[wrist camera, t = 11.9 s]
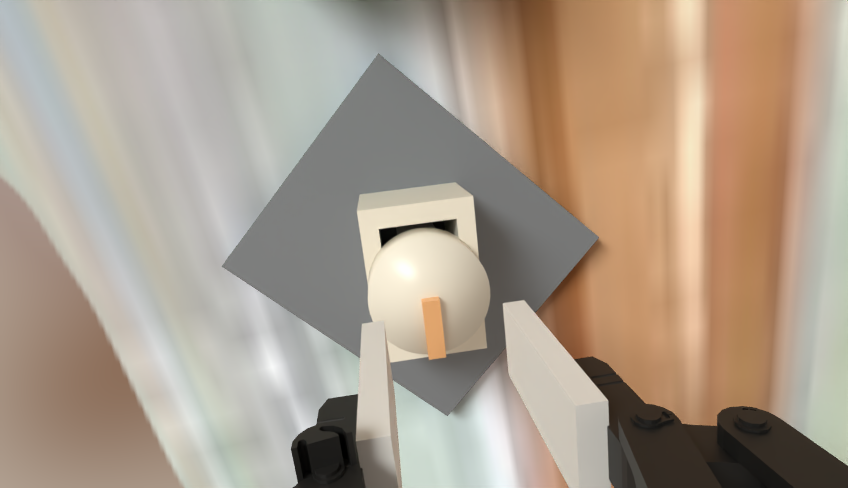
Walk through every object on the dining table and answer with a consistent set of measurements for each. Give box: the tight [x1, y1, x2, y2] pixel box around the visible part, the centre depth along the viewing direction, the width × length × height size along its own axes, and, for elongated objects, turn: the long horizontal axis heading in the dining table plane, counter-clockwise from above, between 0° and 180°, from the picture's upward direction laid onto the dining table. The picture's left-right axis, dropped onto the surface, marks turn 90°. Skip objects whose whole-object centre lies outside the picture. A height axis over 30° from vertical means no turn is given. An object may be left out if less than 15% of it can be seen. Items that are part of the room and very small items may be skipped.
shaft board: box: [222, 54, 599, 416], centre depth 29 cm, size 15×17×6 cm
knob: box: [357, 182, 490, 363], centre depth 27 cm, size 8×6×8 cm
